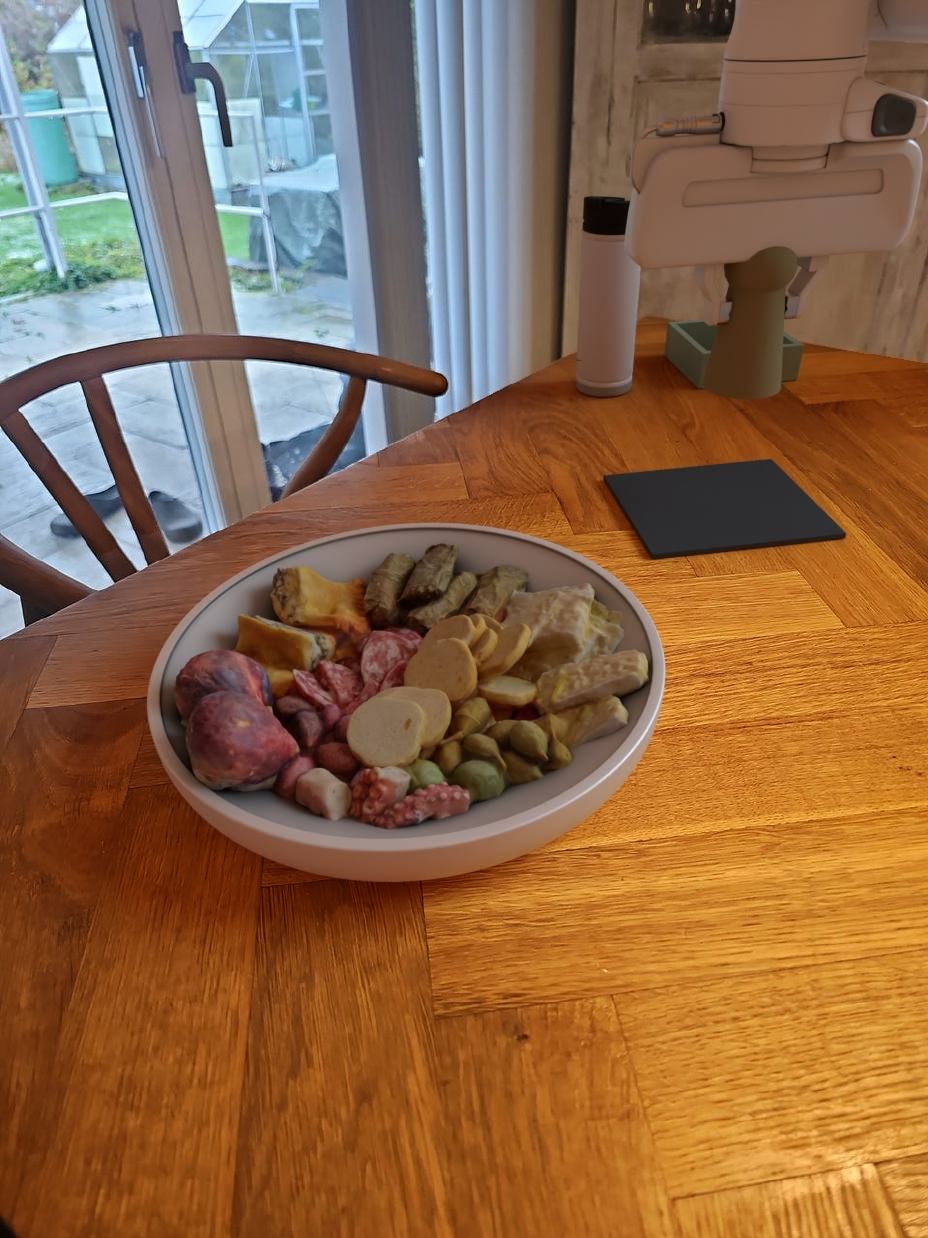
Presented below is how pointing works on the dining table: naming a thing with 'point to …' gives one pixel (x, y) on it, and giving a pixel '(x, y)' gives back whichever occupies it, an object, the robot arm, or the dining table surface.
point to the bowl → (407, 700)
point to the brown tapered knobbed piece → (752, 327)
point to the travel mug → (606, 300)
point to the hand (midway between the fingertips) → (752, 320)
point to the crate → (694, 346)
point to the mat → (719, 509)
